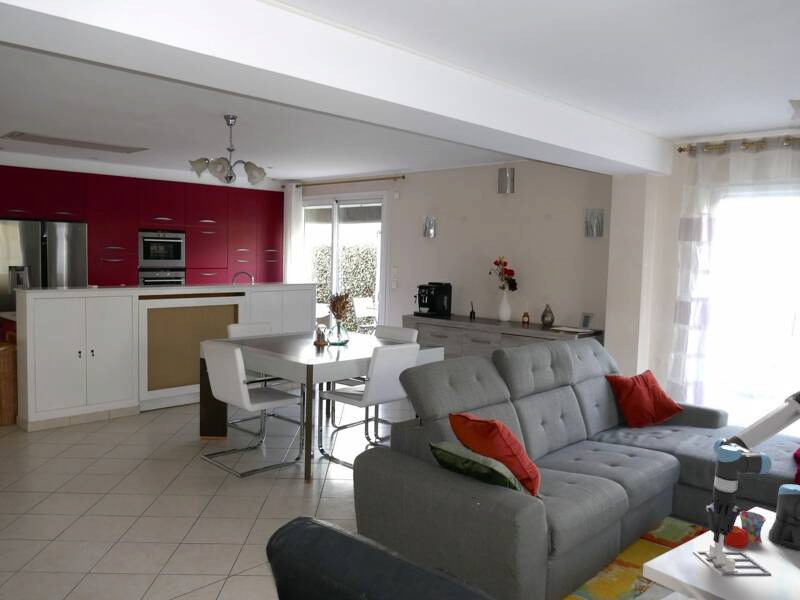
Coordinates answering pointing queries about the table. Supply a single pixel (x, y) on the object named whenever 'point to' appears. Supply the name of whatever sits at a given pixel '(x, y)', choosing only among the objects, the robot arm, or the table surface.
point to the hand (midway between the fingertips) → (718, 550)
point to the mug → (752, 525)
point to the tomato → (737, 538)
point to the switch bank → (735, 565)
